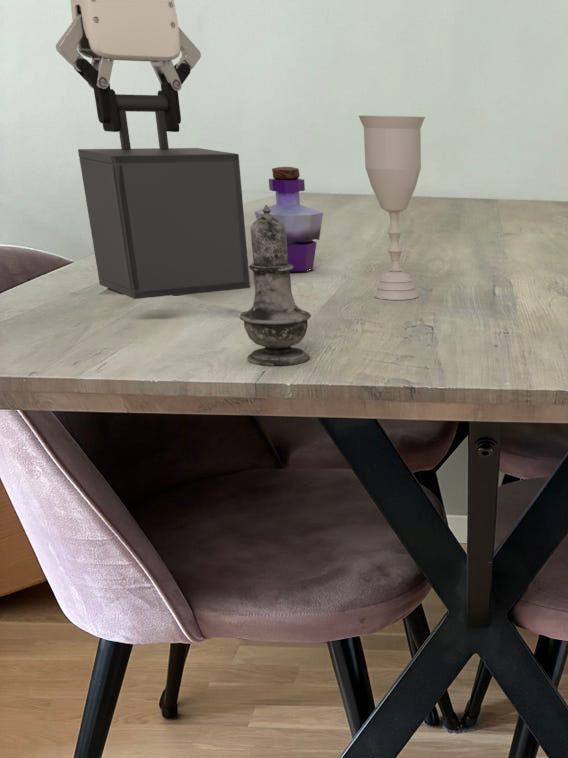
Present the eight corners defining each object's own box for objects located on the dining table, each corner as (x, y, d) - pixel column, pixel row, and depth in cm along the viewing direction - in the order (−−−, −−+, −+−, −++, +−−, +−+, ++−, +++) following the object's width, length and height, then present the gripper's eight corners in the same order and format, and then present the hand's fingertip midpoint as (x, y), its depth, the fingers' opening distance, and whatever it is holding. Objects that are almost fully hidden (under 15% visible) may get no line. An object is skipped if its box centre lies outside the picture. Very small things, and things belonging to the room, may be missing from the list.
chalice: (353, 294, 109) (344, 115, 100) (399, 288, 113) (395, 115, 104) (392, 303, 104) (387, 116, 96) (439, 297, 109) (439, 117, 100)
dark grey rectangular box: (234, 98, 102) (192, 95, 109) (105, 95, 94) (68, 92, 101) (250, 287, 112) (211, 274, 118) (134, 299, 104) (99, 284, 110)
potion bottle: (329, 265, 128) (323, 165, 122) (323, 275, 120) (317, 169, 115) (264, 264, 128) (255, 164, 122) (254, 274, 120) (244, 168, 114)
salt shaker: (312, 349, 84) (303, 201, 79) (314, 365, 79) (304, 208, 74) (245, 351, 84) (230, 201, 78) (242, 367, 79) (226, 208, 73)
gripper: (178, -56, 104) (199, 130, 113) (14, -76, 94) (51, 130, 103) (210, -63, 99) (229, 132, 108) (40, -85, 89) (76, 132, 98)
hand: (141, 129), depth 106 cm, fingers closed on dark grey rectangular box, 6 cm apart
